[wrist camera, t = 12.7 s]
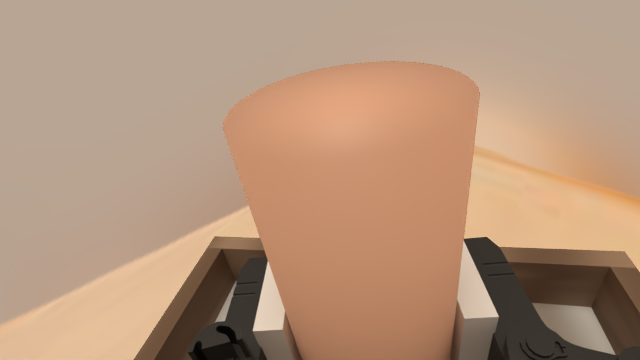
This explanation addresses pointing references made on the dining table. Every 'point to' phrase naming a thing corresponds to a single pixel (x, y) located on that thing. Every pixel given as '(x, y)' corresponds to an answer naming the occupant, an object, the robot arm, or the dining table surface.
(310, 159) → the peg
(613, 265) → the box
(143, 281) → the dining table surface
